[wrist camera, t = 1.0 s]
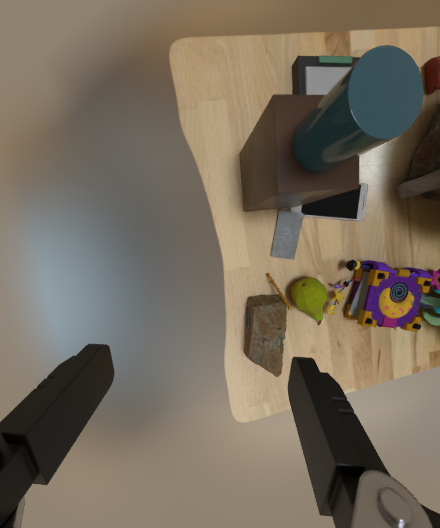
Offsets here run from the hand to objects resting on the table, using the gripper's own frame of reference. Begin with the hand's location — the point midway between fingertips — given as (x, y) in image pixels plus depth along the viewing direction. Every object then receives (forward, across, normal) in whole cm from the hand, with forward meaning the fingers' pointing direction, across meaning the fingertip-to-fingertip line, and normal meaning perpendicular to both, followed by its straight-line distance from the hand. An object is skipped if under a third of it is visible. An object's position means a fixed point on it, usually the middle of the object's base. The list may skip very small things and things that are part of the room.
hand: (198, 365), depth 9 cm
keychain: (+28, -11, +10) cm, 31 cm away
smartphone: (+36, -19, -6) cm, 42 cm away
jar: (+19, -10, -12) cm, 25 cm away
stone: (+28, -3, +17) cm, 32 cm away
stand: (+34, -7, -9) cm, 36 cm away
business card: (+33, -12, 0) cm, 35 cm away
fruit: (+28, -14, +8) cm, 32 cm away
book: (+34, -33, +12) cm, 49 cm away
